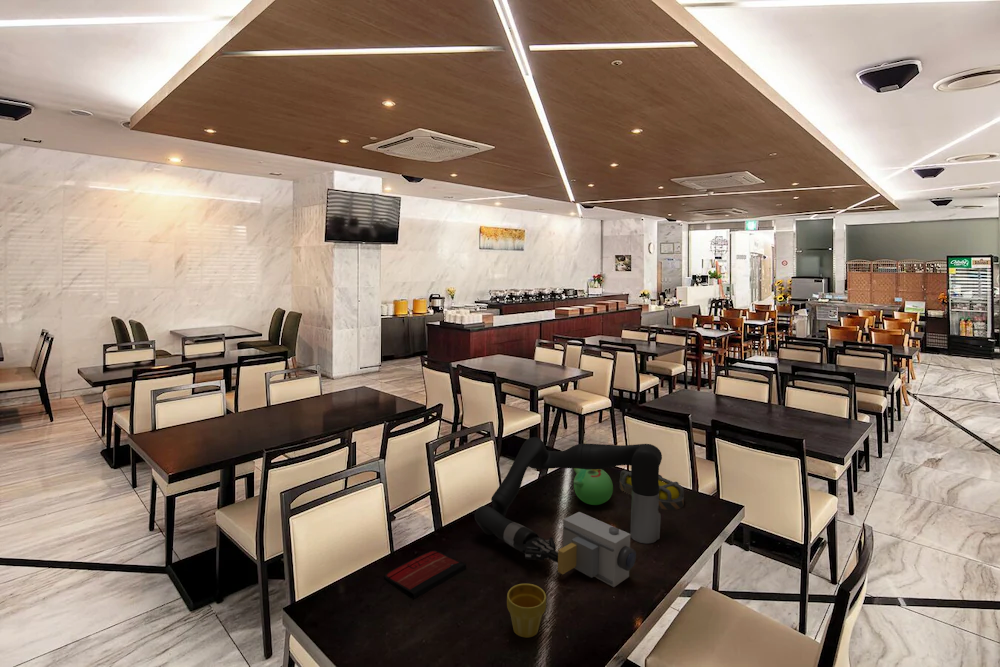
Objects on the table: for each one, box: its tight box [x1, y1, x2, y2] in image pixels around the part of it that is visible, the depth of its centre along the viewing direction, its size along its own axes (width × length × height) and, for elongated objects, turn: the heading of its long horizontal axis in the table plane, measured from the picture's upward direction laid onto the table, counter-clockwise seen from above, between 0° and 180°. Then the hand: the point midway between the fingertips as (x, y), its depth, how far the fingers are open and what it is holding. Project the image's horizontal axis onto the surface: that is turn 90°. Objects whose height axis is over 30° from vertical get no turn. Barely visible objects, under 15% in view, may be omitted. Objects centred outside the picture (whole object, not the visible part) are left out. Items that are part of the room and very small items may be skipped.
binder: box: [384, 550, 467, 600], centre depth 162 cm, size 16×2×21 cm
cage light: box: [618, 469, 685, 511], centre depth 218 cm, size 15×8×30 cm
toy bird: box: [572, 468, 614, 506], centre depth 211 cm, size 18×17×15 cm
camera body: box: [562, 511, 637, 588], centre depth 163 cm, size 9×23×15 cm, turn 43°
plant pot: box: [506, 583, 547, 638], centre depth 136 cm, size 10×10×10 cm
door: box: [557, 536, 599, 578], centre depth 158 cm, size 10×8×9 cm
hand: (560, 559), depth 158 cm, fingers closed
